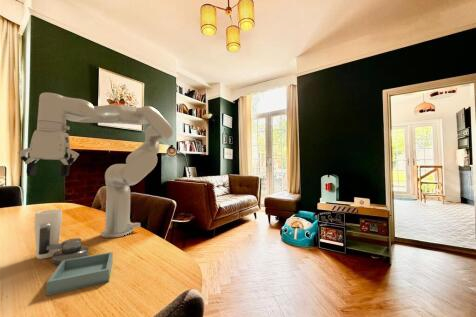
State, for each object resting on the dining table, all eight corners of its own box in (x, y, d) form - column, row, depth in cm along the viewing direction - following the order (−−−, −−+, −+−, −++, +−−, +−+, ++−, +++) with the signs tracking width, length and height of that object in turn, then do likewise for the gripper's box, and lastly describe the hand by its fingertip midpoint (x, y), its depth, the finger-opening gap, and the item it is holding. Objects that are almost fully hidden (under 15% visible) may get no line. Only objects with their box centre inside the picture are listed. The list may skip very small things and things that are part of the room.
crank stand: (88, 260, 65) (88, 250, 65) (50, 268, 59) (51, 258, 59) (87, 244, 77) (87, 236, 77) (56, 250, 72) (56, 242, 72)
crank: (83, 246, 69) (84, 219, 69) (77, 252, 64) (79, 223, 65) (43, 251, 65) (44, 222, 65) (34, 257, 60) (36, 226, 60)
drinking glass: (36, 262, 63) (38, 214, 63) (29, 257, 66) (32, 212, 67) (63, 254, 68) (65, 210, 69) (56, 250, 72) (58, 208, 73)
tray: (112, 262, 63) (112, 251, 64) (108, 281, 53) (109, 269, 53) (62, 271, 58) (62, 260, 58) (46, 296, 47) (46, 282, 47)
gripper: (84, 131, 78) (81, 175, 76) (29, 128, 73) (25, 175, 72) (74, 128, 70) (71, 176, 69) (12, 124, 66) (8, 176, 65)
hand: (48, 175), depth 71 cm, fingers open, 9 cm apart
